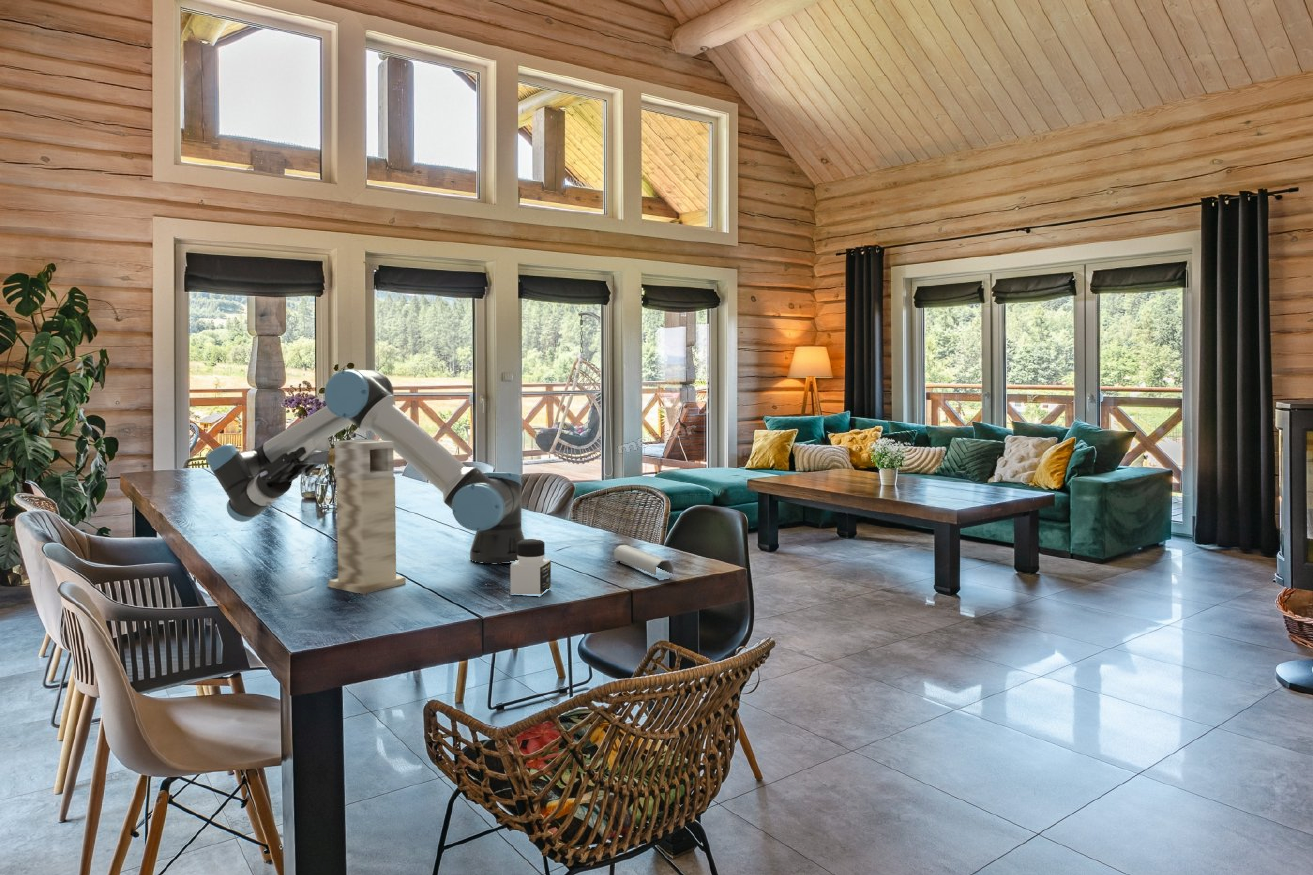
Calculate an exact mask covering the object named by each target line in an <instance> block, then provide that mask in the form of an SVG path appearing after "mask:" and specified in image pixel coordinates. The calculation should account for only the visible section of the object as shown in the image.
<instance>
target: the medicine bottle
mask: <svg viewBox="0 0 1313 875" xmlns="http://www.w3.org/2000/svg"><path fill="white" fill-rule="evenodd" d="M545 554H546V553H545V542H544V541H543V540H542V539H539V538H524V539H523V540H521V541H519V542H518V543H517V558H518V559H519V560H517V561H516V562H514V563H511V564H509V565H510V568H509V569H510V594H511V593H516V594H542V593H543V592H544V591H545V590H546V589H549V588H550V587H552V585H551V583H552V580H551V578H552V577H551V576H552V575H551V574H552V570H551V569H552V562H551V561H552V559H549V558H545Z"/></svg>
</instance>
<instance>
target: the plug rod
mask: <svg viewBox="0 0 1313 875" xmlns="http://www.w3.org/2000/svg"><path fill="white" fill-rule="evenodd" d="M291 452H294V451H291ZM291 452H289V454H290V453H291ZM289 454H288V455H289ZM298 460H299V463H300V464H319V465H330V466H332V467H333V468H335V447H334V448H332V449H331V448H330V449H329V450H327V451H314V452H312V453H311V454H310V455H309V456H308V457H306V458H305V459H304V460H303V461H300V459H298ZM371 460H372V455H371V452H370V463H371ZM299 463H298V464H299Z"/></svg>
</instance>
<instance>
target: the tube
mask: <svg viewBox="0 0 1313 875" xmlns="http://www.w3.org/2000/svg"><path fill="white" fill-rule="evenodd" d="M615 558H616V559H620V560H622V561H624V562H626V563H628V564H630V565H633V566H635V567H637V568H640V569H642V570H644V571H647V572H649V573H651V574H654V575H656V567H658V568H660V569H662V570H665V571H667V572H669V573H672V574H675V566H674V564H673V563H672V561H670V559H665V558H664V557H660V556H658V555H654V554H652V553H649V552H646V551H644V550H641V549H638V548H635V547H633V546H630V545H628V544H622V545H618V546H617V547H616V548H615V549H614V551H613V559H615ZM616 559H615V560H616Z"/></svg>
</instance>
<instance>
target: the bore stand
mask: <svg viewBox="0 0 1313 875" xmlns="http://www.w3.org/2000/svg"><path fill="white" fill-rule="evenodd" d="M334 448H335V467H334V478H336V524H337V526H336V528H337V530H336V532H337V533H336V534H337V536H336V537H337V578H333V579H328V583H327V584H328V588H331V589H337V590H340V591H341V590H342V591H345V592H346V591H347V592H350V593H356V594H359V593H360V595H366V593H367V594H371V593H375V592H378V590H379V591H381V590H382V589H383V590H387V589H390V588H394V587H397V586H402V585H406V584H407V583H406V582H407V579H406V578H407V577H405V576H401V575H397V555H396V554H397V547H396V546H397V544H396V543H397V539H396V536H397V535H396V531H397V530H396V528H397V526H396V477H395V476H394V473H395V472H394V470H395V469H394V450H393V441H383V440H380V439H366V438H364V439H363V438H361V439H359V438H358V439H348V440H345V439H344V440H335V441H334ZM370 452H371V455H372V460H371V463H370ZM374 591H375V592H374ZM370 592H371V593H370Z"/></svg>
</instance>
